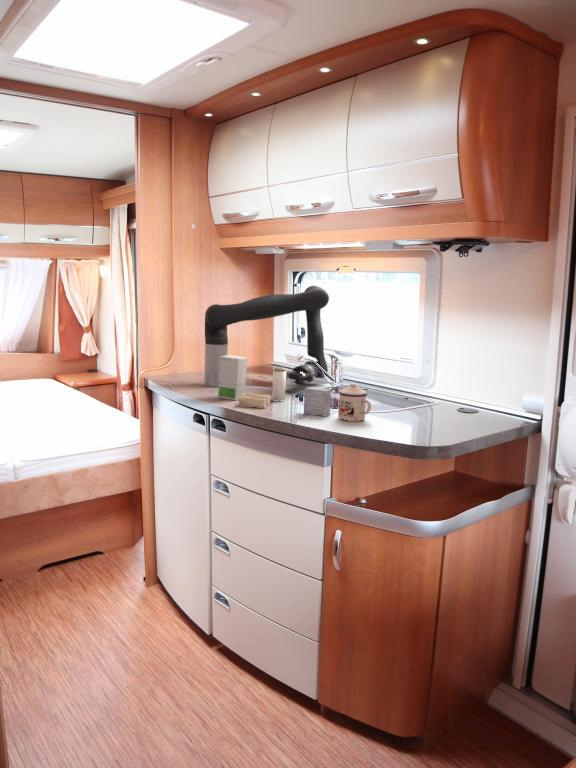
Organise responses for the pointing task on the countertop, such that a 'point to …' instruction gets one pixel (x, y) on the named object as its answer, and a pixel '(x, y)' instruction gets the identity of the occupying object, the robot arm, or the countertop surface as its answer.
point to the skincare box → (232, 377)
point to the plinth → (254, 400)
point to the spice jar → (279, 383)
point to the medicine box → (317, 401)
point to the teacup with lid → (353, 403)
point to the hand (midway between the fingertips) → (289, 378)
